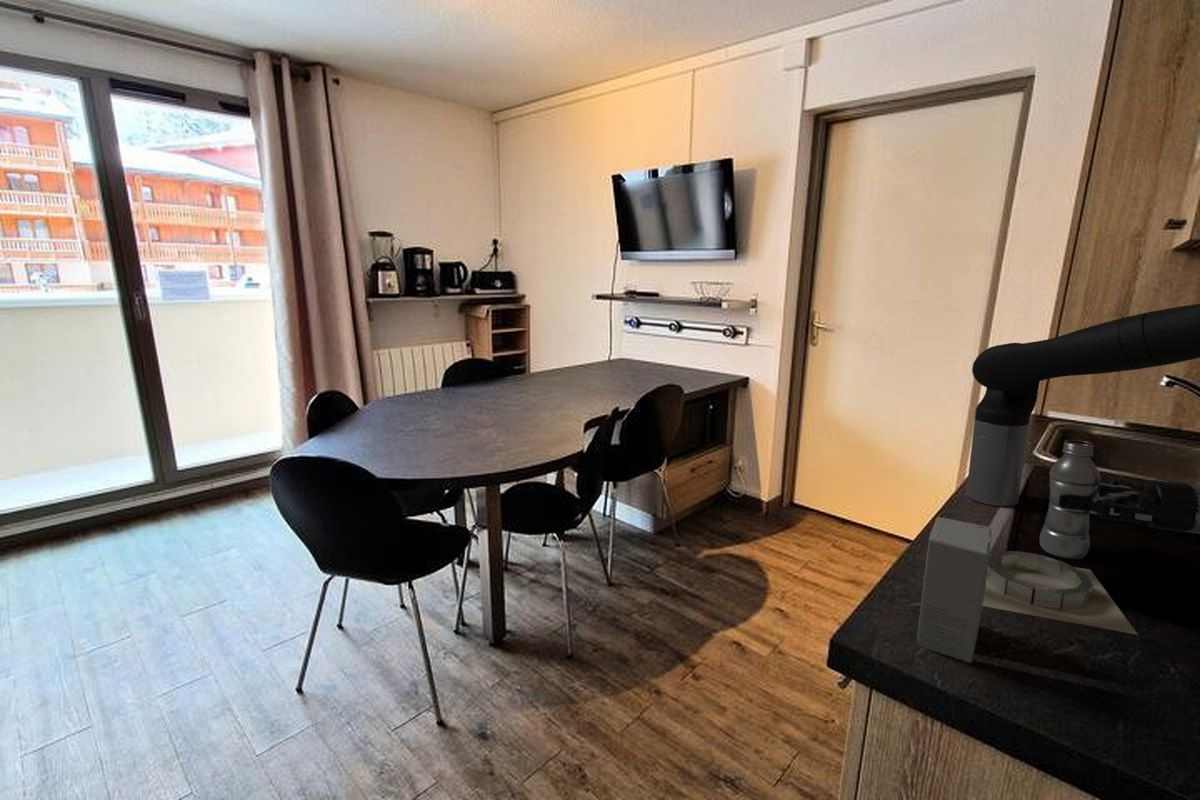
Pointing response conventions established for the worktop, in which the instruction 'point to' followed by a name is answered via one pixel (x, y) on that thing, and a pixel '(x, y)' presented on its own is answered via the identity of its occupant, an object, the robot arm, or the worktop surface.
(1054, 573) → the steel collar
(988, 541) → the skincare box
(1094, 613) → the birch board
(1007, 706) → the worktop surface
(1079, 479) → the plastic bottle
